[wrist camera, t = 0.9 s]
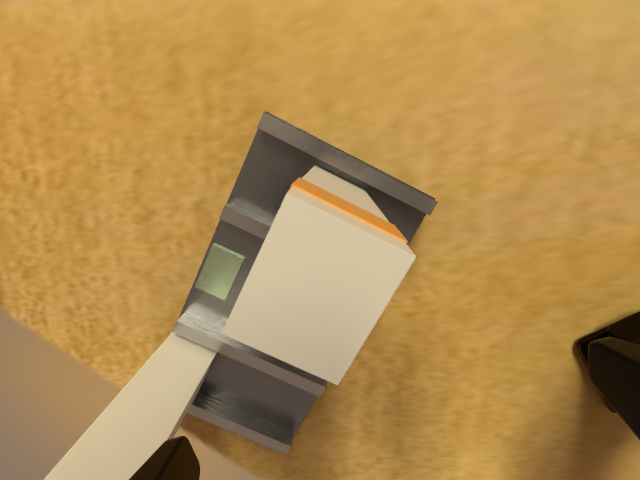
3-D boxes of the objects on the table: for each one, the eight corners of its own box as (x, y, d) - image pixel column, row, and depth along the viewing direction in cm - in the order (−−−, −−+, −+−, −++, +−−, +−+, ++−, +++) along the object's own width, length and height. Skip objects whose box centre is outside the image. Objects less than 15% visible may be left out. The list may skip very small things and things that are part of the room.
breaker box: (425, 193, 20) (442, 202, 17) (293, 419, 25) (288, 457, 22) (272, 114, 20) (260, 108, 16) (165, 364, 24) (141, 395, 21)
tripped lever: (365, 189, 18) (419, 255, 7) (335, 247, 19) (338, 387, 8) (315, 163, 18) (285, 189, 7) (286, 223, 19) (218, 334, 8)
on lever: (219, 348, 21) (90, 574, 10) (199, 390, 22) (61, 640, 11) (175, 328, 21) (-8, 538, 10) (156, 372, 22) (-30, 610, 11)
